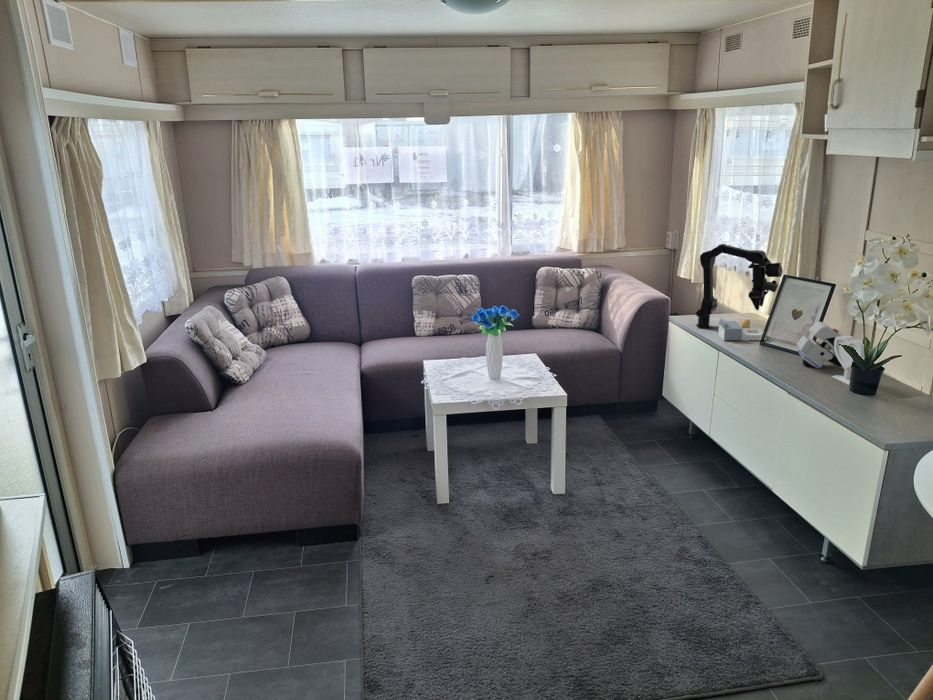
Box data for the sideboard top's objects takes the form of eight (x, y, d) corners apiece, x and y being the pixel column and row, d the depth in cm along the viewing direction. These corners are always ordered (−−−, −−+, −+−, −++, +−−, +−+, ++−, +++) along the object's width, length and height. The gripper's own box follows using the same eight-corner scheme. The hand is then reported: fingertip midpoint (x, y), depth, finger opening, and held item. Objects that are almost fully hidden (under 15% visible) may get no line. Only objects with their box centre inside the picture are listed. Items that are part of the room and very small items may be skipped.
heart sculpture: (828, 374, 299) (833, 333, 293) (838, 373, 300) (844, 332, 294) (854, 387, 284) (860, 344, 279) (865, 386, 285) (872, 343, 280)
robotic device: (832, 386, 306) (866, 351, 300) (792, 358, 305) (826, 322, 299) (825, 378, 316) (858, 343, 309) (786, 351, 315) (818, 315, 308)
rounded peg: (740, 328, 368) (741, 319, 366) (748, 328, 367) (749, 319, 366) (742, 330, 364) (743, 321, 363) (750, 330, 364) (751, 321, 362)
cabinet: (718, 332, 361) (719, 317, 358) (734, 332, 360) (735, 317, 357) (724, 340, 348) (725, 324, 345) (741, 340, 347) (742, 324, 344)
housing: (718, 333, 360) (719, 324, 358) (759, 334, 358) (760, 324, 356) (723, 340, 349) (724, 330, 347) (766, 341, 346) (767, 331, 345)
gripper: (772, 279, 336) (773, 312, 340) (780, 273, 351) (780, 304, 355) (748, 280, 342) (748, 312, 346) (756, 273, 357) (756, 304, 361)
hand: (759, 308), depth 352 cm, fingers open, 9 cm apart
